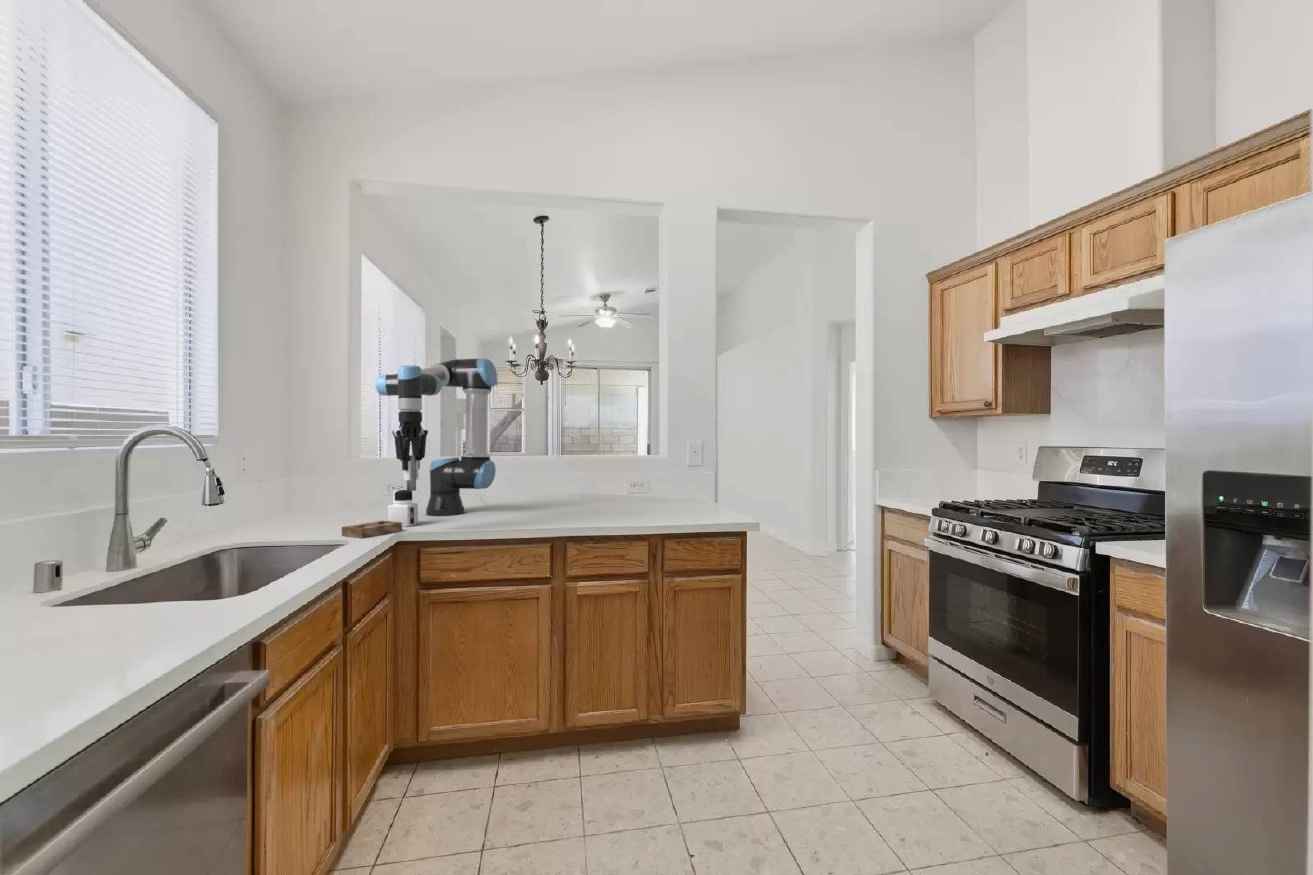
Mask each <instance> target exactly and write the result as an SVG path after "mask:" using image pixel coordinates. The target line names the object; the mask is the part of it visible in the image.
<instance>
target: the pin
mask: <svg viewBox="0 0 1313 875" xmlns="http://www.w3.org/2000/svg"><path fill="white" fill-rule="evenodd" d="M408 461H411V480H406V490H407V491H412V492H413V491H417V479H416V455H413V454H412V455H410V454H409V460H408Z"/></svg>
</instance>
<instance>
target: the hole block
mask: <svg viewBox="0 0 1313 875" xmlns="http://www.w3.org/2000/svg"><path fill="white" fill-rule="evenodd" d="M398 532H403V527H402V522H393V521H388V520H378V521H376V520H375V521H371V522H364V523H359V524H352V525H346V526H341V537H349V538H357V539H367V538H370V537H376V536H382V535H387V534H394V533H398Z"/></svg>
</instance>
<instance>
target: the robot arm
mask: <svg viewBox="0 0 1313 875" xmlns="http://www.w3.org/2000/svg"><path fill="white" fill-rule="evenodd" d="M497 382H498V374H497V370H496V367H495V365H494V363H493V361H491V360H490V359H487V358H463V359H462V358H461V359H460V358H459V359H458V358H457V359H451V360H446V361H442V362H438V363H434V364H433V365H431V366H430V367H427V368H422V367H420V366H419V365H400V366H399V367H398V370H397V373H395V374H381V375H379V376H378V377H377V378H376V379H375V390H376V392H377V394H379V395H380V396H388V397H390V396H391V397H392V396H397V397H398V398H397V401H398V404H397V406H398V407H397V408H398V409H397V410H399V411H398V422H399V426H398V428H397V429H396V430H392V435H393V438H394V446H395V456H396V460H399V461H400V462H401V465H402V466H401V469H402V471H403V480H404V481H407V480H411V461H408V460H409V455H410V451H411V452H412V455H416V480H419V478H420V477H419V476H420V475H419V470H420V469H421V466H420V465H421V462H420V461H422V460H423V459H425V456H426V448H427V447H426V444H427V437H428V436H427V435H428V433H429V431H428V430H427V429H424V428H423V426H422V422H423V412H422V410H423V398H422V396H428V397H431V396H436V395H438V394H440V393H441V390H442V388H443V387H449V388H450V387H451V388H452V387H453V388H454V387H455V388H462V392H463V393H464V394H465V433H464V435H465V440H464V443H465V444H464V445H465V446H464V453H463V454H462V455H461V456H460V458H461V459H460V458H459V456H454V457H449V458H448V457H447V458H441V459H433V460H431V462H430V464H429V465H430V466H429V478H430V479H429V485H430V486H429V490H430V491H429V492H430V496H429V499H428V503H427V507H426V508H425V514H426V515H427V516H439V517H441V516H454V515H460V514H465V506H464V505H463V500H462V498H461V494H460V493H461V492H460V490H461V489H464V490H465V489H468V490H471V489H472V490H473V489H475V490H480V489H483V490H484V489H488V488H489V487H491V486H492V484H493V482H494V480H495V477H496V470H497V468H496V466H495V465H496V464H495V462H494V461H492V460H491V455H489V454H488V452H487V445H488V444H487V443H488V441H487V439H488V396H489V395H490V394H491V393H492V388H493V387H495V386H496V385H497Z"/></svg>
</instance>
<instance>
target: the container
mask: <svg viewBox="0 0 1313 875" xmlns="http://www.w3.org/2000/svg"><path fill="white" fill-rule="evenodd" d="M392 495H393V504H391V505H389V504H388V505H387V521H393V522H402V528H409V527H412V526H415V525H418V523H419V518H418V516H419V513H418V512H419V510H418V509H419V508H418V503H415V502H413V491H407V489H399V490H398V489H397V490H395V491H393V493H392Z"/></svg>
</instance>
